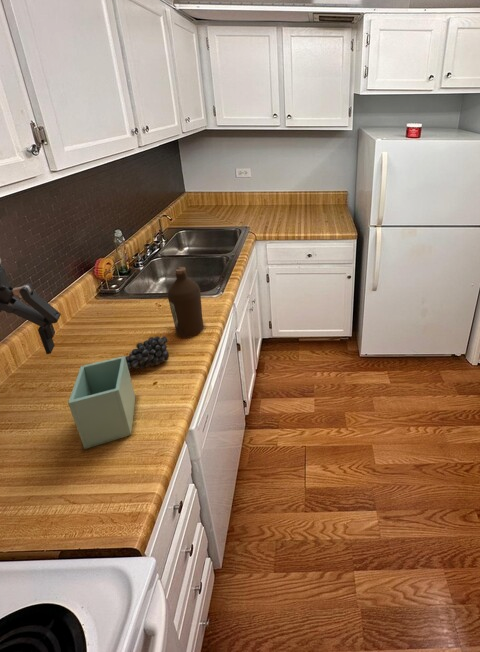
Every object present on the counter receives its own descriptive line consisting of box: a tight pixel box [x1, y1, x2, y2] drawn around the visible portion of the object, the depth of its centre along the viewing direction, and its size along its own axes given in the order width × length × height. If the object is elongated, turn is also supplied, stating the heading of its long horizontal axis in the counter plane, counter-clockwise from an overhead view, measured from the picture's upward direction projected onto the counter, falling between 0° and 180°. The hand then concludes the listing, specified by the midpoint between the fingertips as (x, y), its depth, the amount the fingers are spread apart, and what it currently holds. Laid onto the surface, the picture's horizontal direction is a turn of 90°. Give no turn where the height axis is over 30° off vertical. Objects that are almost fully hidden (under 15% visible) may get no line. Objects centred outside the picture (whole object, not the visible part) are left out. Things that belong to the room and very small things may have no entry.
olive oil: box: [167, 266, 204, 338], centre depth 117 cm, size 11×11×25 cm
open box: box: [67, 355, 137, 450], centre depth 84 cm, size 15×10×12 cm
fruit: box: [125, 335, 171, 372], centre depth 104 cm, size 9×8×15 cm
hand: (12, 358), depth 71 cm, fingers open, 13 cm apart
